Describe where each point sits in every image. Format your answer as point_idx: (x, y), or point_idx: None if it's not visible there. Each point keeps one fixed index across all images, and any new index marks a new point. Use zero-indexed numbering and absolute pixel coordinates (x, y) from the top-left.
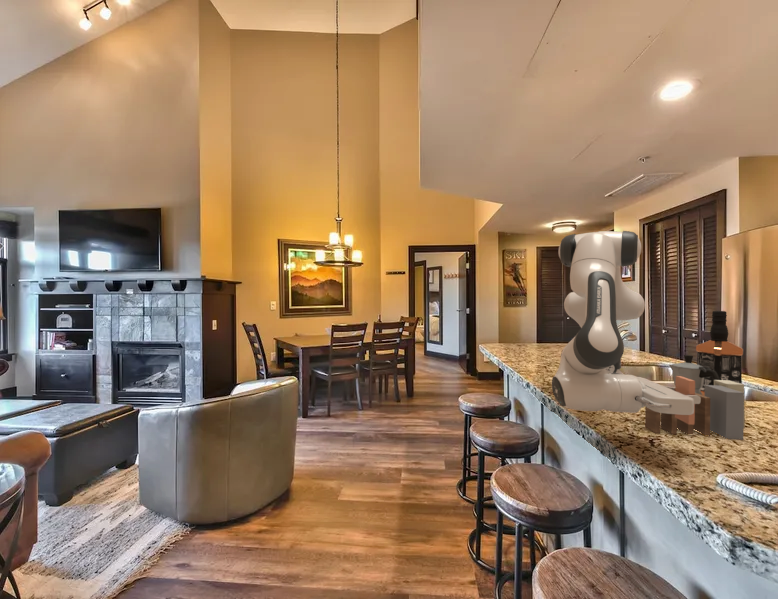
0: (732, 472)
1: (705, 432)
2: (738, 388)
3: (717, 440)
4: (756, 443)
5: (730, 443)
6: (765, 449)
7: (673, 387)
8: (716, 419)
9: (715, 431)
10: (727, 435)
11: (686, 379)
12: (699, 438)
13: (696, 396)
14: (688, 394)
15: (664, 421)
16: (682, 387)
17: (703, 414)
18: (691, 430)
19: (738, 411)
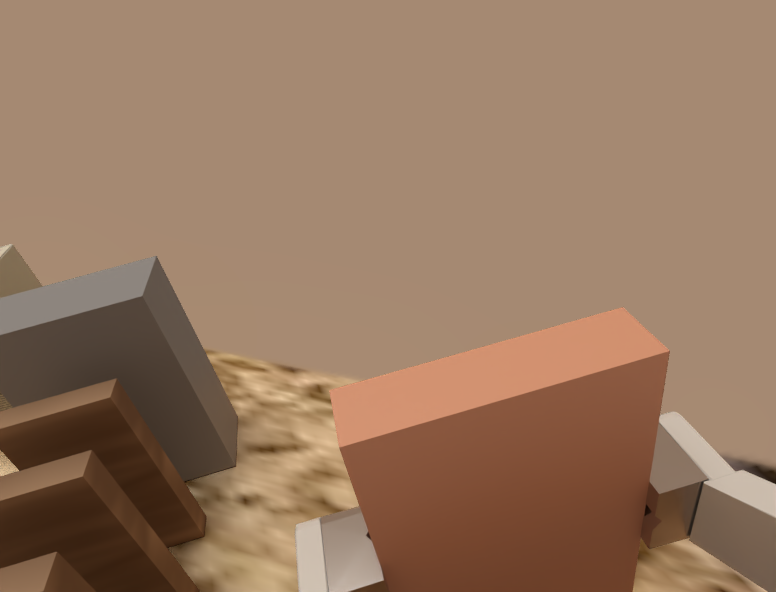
0: (735, 570)
1: (196, 523)
2: (15, 270)
3: (261, 502)
4: (272, 393)
5: (291, 466)
6: (331, 386)
7: (321, 573)
8: None
9: None
10: (231, 452)
11: (577, 367)
12: (245, 573)
13: (694, 436)
14: (668, 490)
15: None
16: (522, 487)
17: (144, 472)
18: (186, 585)
19: (191, 342)
